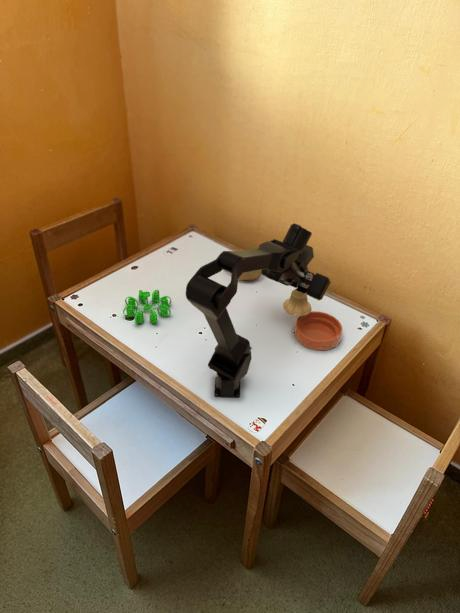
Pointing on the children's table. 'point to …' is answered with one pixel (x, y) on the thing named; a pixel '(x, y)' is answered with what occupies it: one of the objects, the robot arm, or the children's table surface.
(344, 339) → the children's table surface
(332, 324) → the bowl
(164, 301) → the chandelier
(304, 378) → the children's table surface
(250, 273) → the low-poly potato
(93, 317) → the children's table surface
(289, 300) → the hand bell
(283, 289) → the children's table surface
